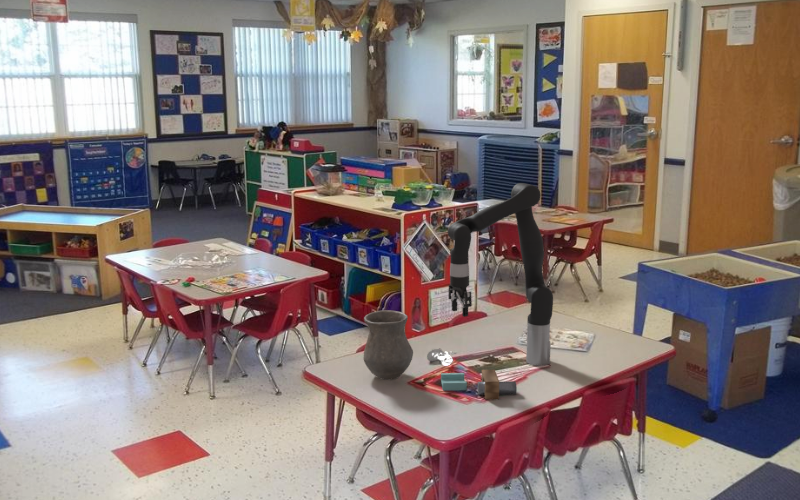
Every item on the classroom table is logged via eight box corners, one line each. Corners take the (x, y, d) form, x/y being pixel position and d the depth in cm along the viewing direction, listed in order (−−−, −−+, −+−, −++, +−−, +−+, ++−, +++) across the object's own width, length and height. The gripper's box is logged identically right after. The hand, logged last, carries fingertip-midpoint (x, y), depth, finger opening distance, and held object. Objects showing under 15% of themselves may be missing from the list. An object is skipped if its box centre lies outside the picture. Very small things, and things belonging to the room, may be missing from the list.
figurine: (441, 346, 329) (459, 349, 319) (442, 361, 329) (459, 365, 319) (423, 349, 324) (440, 352, 314) (424, 364, 324) (441, 368, 314)
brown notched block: (494, 386, 296) (494, 369, 295) (498, 399, 285) (499, 381, 283) (481, 386, 296) (481, 369, 295) (485, 399, 285) (485, 381, 283)
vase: (402, 388, 295) (402, 326, 290) (356, 382, 302) (355, 321, 296) (419, 370, 313) (419, 311, 308) (375, 365, 320) (374, 307, 314)
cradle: (463, 380, 303) (464, 373, 302) (466, 390, 293) (466, 382, 293) (441, 380, 303) (441, 373, 302) (442, 390, 293) (442, 383, 293)
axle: (514, 392, 292) (514, 380, 292) (516, 395, 287) (516, 382, 287) (477, 393, 292) (477, 380, 292) (479, 396, 287) (478, 383, 287)
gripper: (477, 276, 298) (477, 316, 302) (458, 269, 311) (459, 307, 314) (460, 279, 295) (460, 319, 299) (442, 271, 308) (443, 310, 311)
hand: (459, 313), depth 307 cm, fingers open, 8 cm apart
